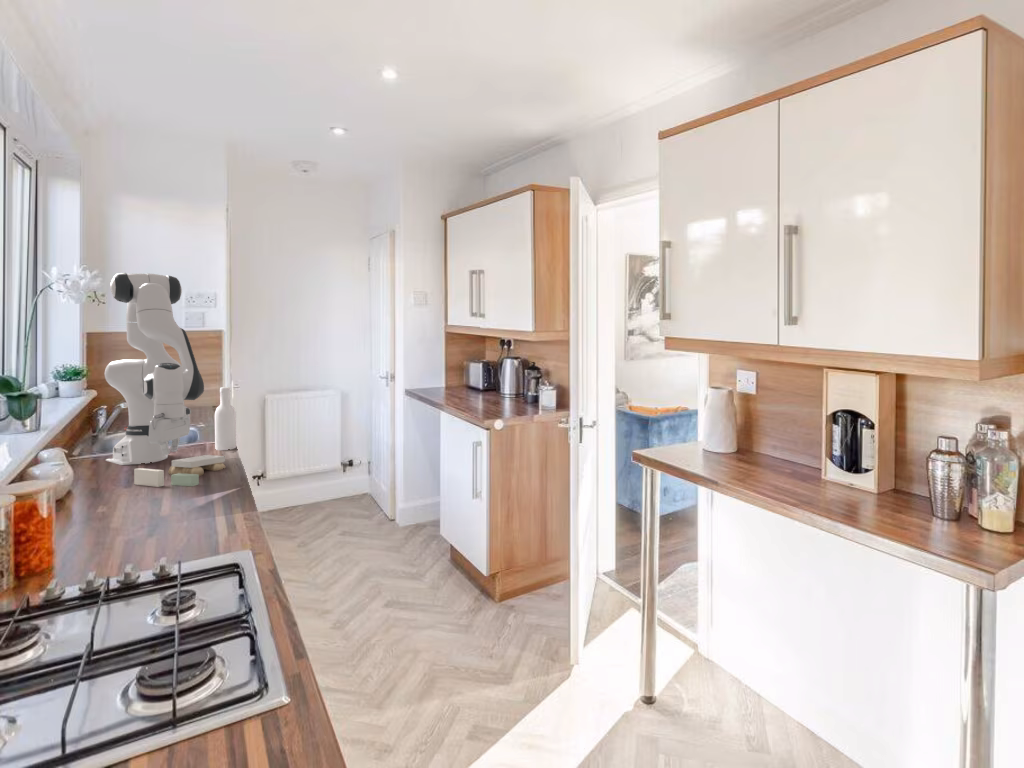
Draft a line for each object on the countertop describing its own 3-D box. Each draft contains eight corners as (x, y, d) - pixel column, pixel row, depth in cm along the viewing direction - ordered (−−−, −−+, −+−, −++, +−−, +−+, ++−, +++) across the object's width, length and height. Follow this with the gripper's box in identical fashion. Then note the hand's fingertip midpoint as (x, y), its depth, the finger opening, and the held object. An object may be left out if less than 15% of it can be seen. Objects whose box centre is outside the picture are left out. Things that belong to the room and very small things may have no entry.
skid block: (171, 485, 189) (171, 474, 189) (178, 483, 192) (178, 473, 192) (191, 486, 187) (191, 476, 187) (198, 485, 190) (198, 474, 190)
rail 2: (191, 473, 210) (191, 462, 210) (201, 471, 214) (200, 460, 214) (216, 475, 206) (216, 464, 205) (225, 473, 209) (225, 462, 209)
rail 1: (168, 477, 202) (168, 466, 202) (178, 475, 205) (178, 464, 205) (193, 480, 197) (193, 468, 197) (204, 478, 201) (203, 466, 201)
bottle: (215, 462, 235) (214, 387, 234) (214, 459, 242) (213, 387, 241) (237, 461, 238) (236, 387, 237) (236, 458, 245) (235, 387, 244)
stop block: (134, 484, 190) (134, 469, 190) (140, 483, 192) (140, 468, 192) (158, 486, 186) (158, 471, 186) (164, 485, 188) (163, 470, 188)
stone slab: (171, 466, 201) (171, 460, 201) (206, 460, 214) (206, 454, 214) (190, 467, 198) (190, 461, 198) (224, 461, 211) (224, 456, 211)
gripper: (162, 415, 185) (163, 458, 186) (193, 408, 206) (194, 447, 206) (142, 415, 185) (143, 458, 186) (174, 408, 205) (175, 447, 206)
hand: (170, 452), depth 196 cm, fingers open, 4 cm apart
